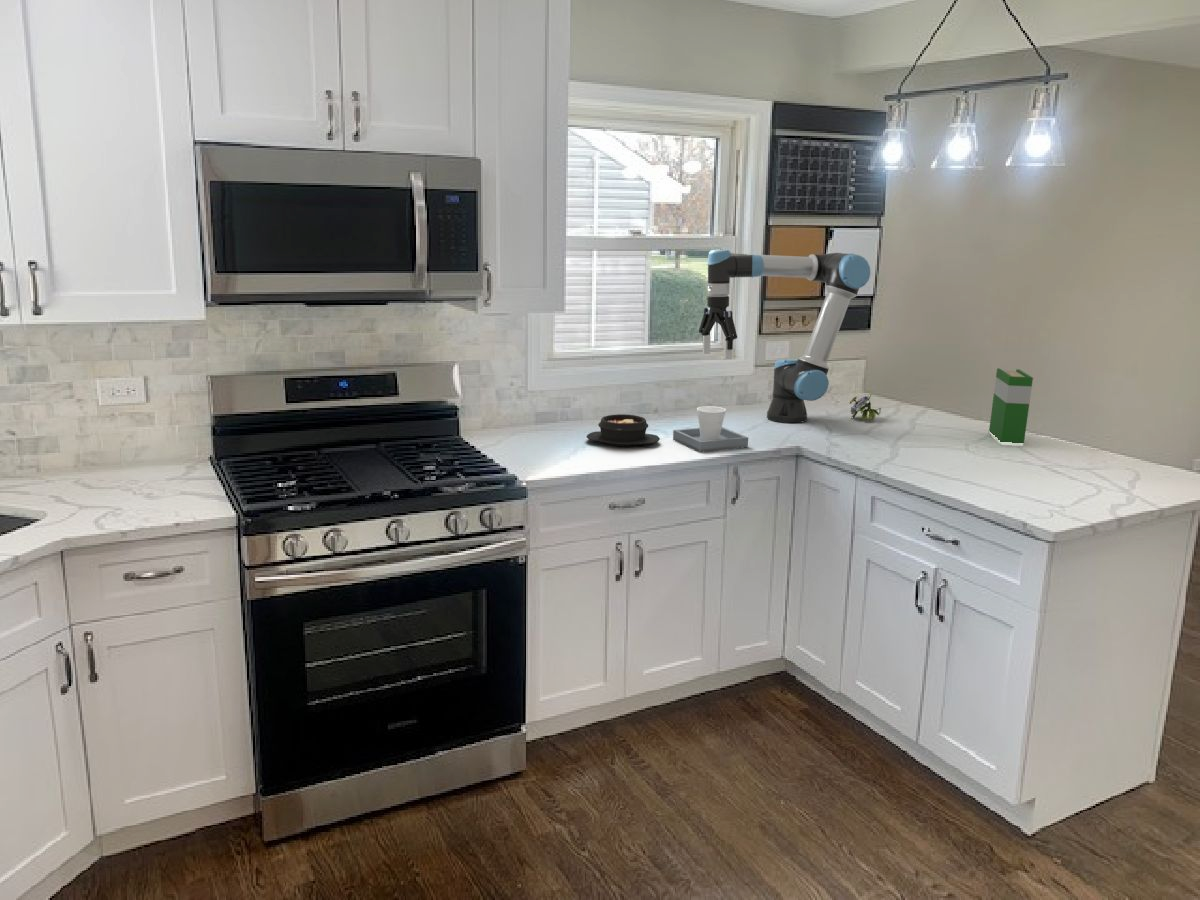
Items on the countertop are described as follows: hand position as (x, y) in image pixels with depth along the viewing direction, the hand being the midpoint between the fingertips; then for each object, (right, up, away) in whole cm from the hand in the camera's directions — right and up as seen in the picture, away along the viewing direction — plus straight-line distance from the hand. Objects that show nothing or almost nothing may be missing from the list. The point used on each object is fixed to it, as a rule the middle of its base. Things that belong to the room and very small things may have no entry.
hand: (717, 356), depth 317 cm
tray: (-4, -31, -12) cm, 33 cm away
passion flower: (+60, -22, +29) cm, 71 cm away
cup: (-4, -30, -12) cm, 33 cm away
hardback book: (+102, -30, 0) cm, 106 cm away
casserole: (-34, -31, -12) cm, 47 cm away
